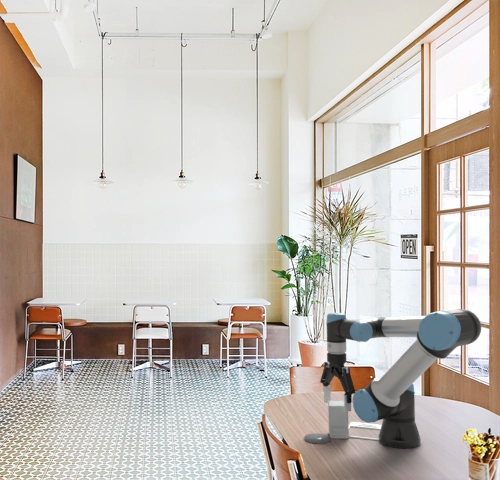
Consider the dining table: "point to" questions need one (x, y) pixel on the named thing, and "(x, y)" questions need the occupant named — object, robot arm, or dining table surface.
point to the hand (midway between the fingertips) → (337, 406)
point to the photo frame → (366, 426)
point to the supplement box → (338, 420)
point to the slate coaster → (317, 438)
